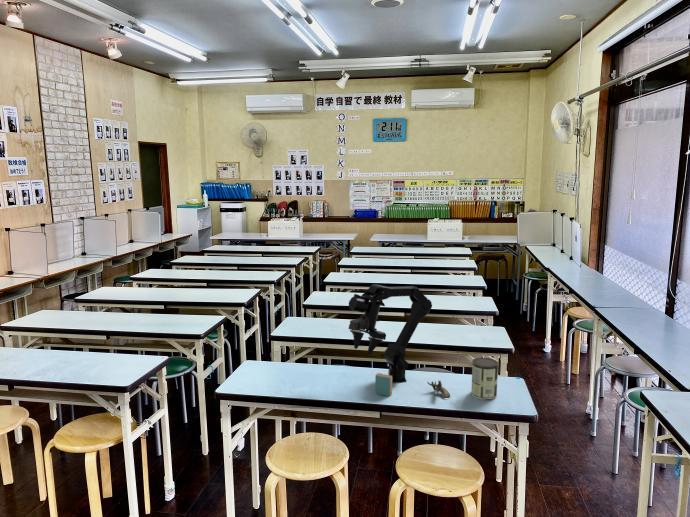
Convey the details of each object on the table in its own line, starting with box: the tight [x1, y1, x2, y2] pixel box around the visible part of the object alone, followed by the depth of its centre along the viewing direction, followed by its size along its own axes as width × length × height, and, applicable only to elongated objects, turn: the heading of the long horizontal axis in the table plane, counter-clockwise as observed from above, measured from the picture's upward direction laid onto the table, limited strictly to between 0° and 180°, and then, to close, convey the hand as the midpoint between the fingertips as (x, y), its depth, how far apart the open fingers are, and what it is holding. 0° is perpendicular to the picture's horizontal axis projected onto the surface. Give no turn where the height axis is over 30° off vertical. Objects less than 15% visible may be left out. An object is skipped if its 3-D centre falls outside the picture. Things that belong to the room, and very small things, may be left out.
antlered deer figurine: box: [427, 379, 451, 399], centre depth 208 cm, size 8×7×9 cm
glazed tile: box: [374, 372, 393, 397], centre depth 209 cm, size 2×6×8 cm, turn 64°
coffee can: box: [470, 357, 499, 400], centre depth 208 cm, size 10×10×14 cm
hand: (362, 351), depth 211 cm, fingers open, 9 cm apart
